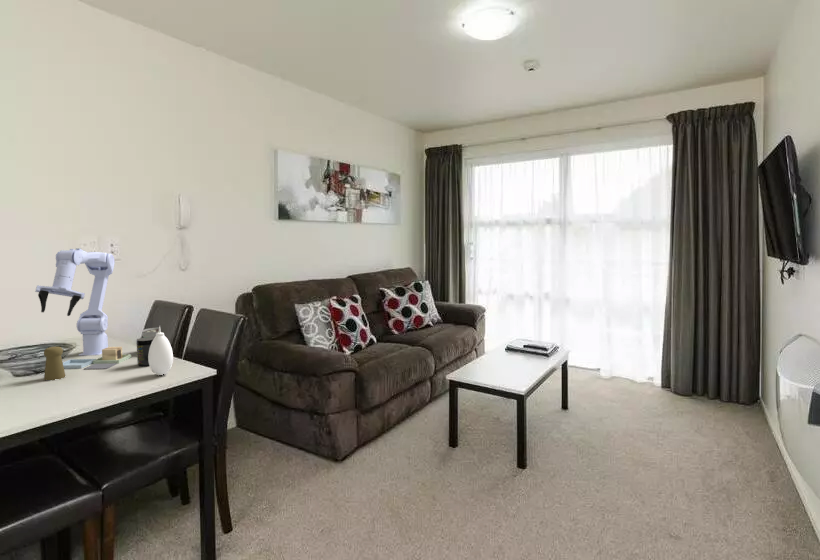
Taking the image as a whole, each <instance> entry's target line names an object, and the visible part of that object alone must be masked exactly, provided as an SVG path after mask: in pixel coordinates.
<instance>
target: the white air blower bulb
mask: <svg viewBox="0 0 820 560" xmlns="http://www.w3.org/2000/svg"><path fill="white" fill-rule="evenodd" d="M173 352H174V351H173V348H172V346H171V341H170V340H169V339H168V338H167V337H166V336H165V333H164V332H162V331H161V325H159V333H156V336H155V338H154V339H153V341H152V343H151V346H150V349H149V354H148V361H149V366H148V367H149V368H150V370H151V372H152V373H154V374H155V375H157V376H159V375H162V376H164V375H167V373H168V372H170V371H171V368H172V366H173V364H174V354H173ZM163 374H164V375H163Z"/></svg>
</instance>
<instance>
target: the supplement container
mask: <svg viewBox="0 0 820 560" xmlns="http://www.w3.org/2000/svg"><path fill="white" fill-rule="evenodd" d="M154 338H155V337H146V338H144V337H140V338H136V360H137V361H136V364H137V367H141V368H146V367H147V368H148V367H150V366H149V361H148V354H149V349H150V346H151V343H152V341H153V339H154Z"/></svg>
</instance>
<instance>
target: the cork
mask: <svg viewBox="0 0 820 560" xmlns="http://www.w3.org/2000/svg"><path fill="white" fill-rule="evenodd" d="M63 353H64V350H63V348H62V347H61V346H49V347H46V348H45V349H44V351H43V355H44V357H45V365H44V374H43V381H46V380H52V381H56V380H55V379H59V380H61V378H63V379H65V378H66V377H65V376H66V372H65V369H64V367H63V362H64V361H63V358H62V355H63ZM64 377H65V378H64Z"/></svg>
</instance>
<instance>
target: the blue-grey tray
mask: <svg viewBox="0 0 820 560" xmlns="http://www.w3.org/2000/svg"><path fill="white" fill-rule="evenodd" d="M96 359H97V358H73V359H72V358H70V359H67V360H65V361H62V362H63V367H64V370H71V369H74V370H75V369H84V368H86V367H89V366H91V365H93V361H94V360H96Z"/></svg>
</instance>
